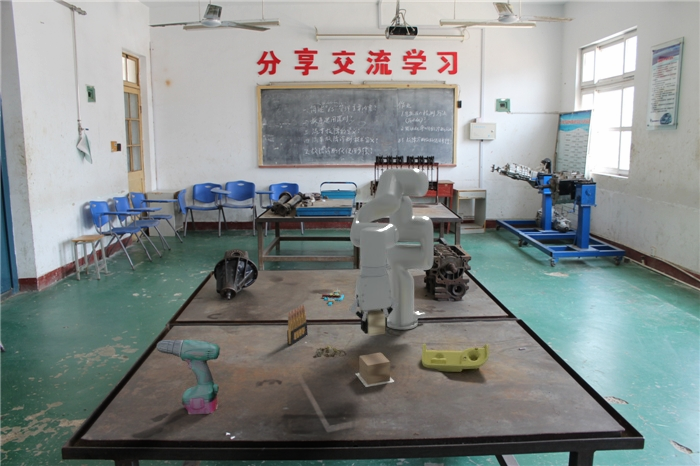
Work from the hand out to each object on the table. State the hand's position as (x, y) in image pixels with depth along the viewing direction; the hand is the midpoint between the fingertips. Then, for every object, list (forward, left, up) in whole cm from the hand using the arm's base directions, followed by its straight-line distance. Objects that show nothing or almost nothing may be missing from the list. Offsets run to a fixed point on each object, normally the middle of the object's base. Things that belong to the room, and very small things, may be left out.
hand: (374, 330), depth 154 cm
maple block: (0, 0, 0) cm, 0 cm away
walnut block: (0, 0, -15) cm, 15 cm away
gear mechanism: (-12, -81, -17) cm, 84 cm away
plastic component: (-27, 0, -17) cm, 32 cm away
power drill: (+52, -3, -16) cm, 55 cm away
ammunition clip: (+14, -40, -16) cm, 46 cm away
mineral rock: (+7, -22, -17) cm, 28 cm away
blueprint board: (0, -1, -16) cm, 16 cm away
